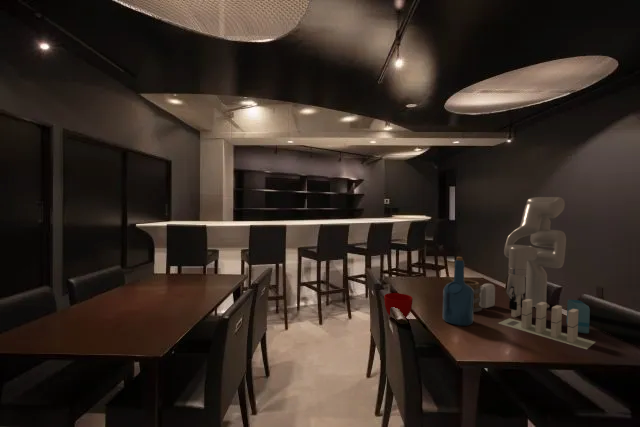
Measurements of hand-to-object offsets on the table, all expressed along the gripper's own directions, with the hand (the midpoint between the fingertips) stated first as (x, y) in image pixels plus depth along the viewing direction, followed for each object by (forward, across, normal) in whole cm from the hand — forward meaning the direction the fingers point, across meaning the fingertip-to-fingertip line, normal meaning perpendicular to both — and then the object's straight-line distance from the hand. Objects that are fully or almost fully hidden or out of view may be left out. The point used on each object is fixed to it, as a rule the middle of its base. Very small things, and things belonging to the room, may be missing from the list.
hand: (516, 307), depth 156 cm
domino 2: (+4, +13, +10) cm, 17 cm away
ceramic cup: (+4, +50, -32) cm, 60 cm away
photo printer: (+4, -4, -16) cm, 17 cm away
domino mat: (+4, +13, +16) cm, 21 cm away
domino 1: (+4, 0, 0) cm, 4 cm away
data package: (+4, -5, +23) cm, 24 cm away
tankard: (+4, +8, -24) cm, 26 cm away
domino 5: (+4, +13, +26) cm, 29 cm away
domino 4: (+4, +13, +20) cm, 25 cm away
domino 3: (+4, +13, +15) cm, 20 cm away
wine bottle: (+4, +32, -12) cm, 34 cm away
